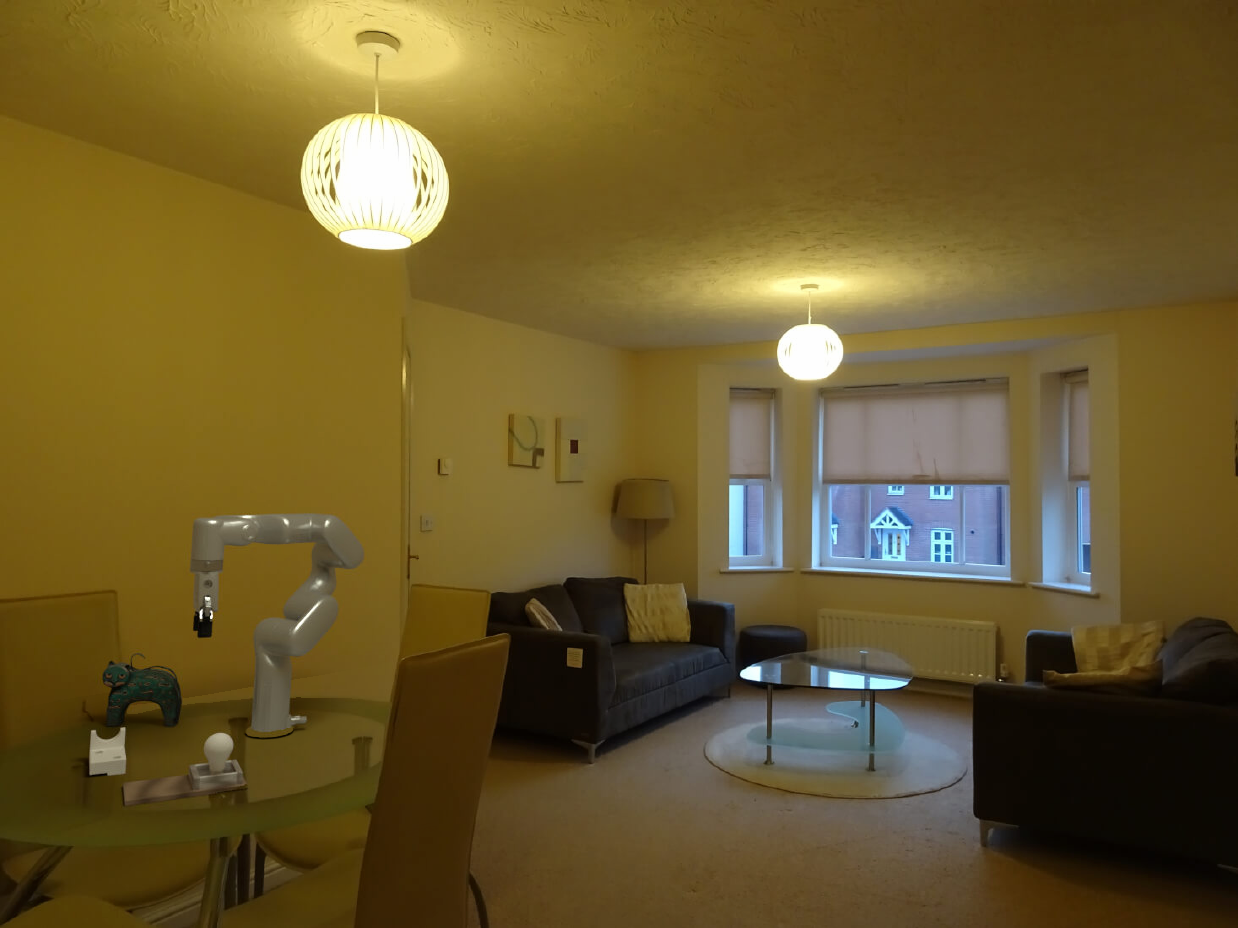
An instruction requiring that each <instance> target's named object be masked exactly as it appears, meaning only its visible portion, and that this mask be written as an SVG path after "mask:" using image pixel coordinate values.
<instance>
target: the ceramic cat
mask: <svg viewBox="0 0 1238 928" xmlns="http://www.w3.org/2000/svg"><path fill="white" fill-rule="evenodd" d="M137 655H138V656H140V657H142V658H143V659H144V660H145V659H146V657H145V656H144V654H143V653H139V652H138V653H134V654H132V655H131V658H130V663H127V662H119V663H115V661H113V660H110V661H108V664H107V667H106V668H105V669H104V670H103V672H102V681H103V685H105V686H106V687H108V688H110V692H109V694H108V698H107V699H108V700H107V707H106V710H105V711H106V724H105V727H106V728H108V727H109V728H117V727H121V726H122V725H123V724H125V715H126V713H127V710H128V708H129V706H130V705H132V704H134V703H138V702H151V703H154V704H157V705H158V706H159V708H160V710H161V713H162V717H163V726H164V727H165V728H174V727H176V726H177V725H178V724H179V720H180V715H181V711H182V705H183V699H182V692H181V691H182V690H181V687H180V683H179V682H178V677H177V674H176V673H175V672H174V670H173V669H172V668H169V667H167V666H163V665H154V666H149V667H146V668H143V669H142V668H141V669H140V668H139V669H138V668H136V667H134V666H133V662H132V660H133V657H134V656H137ZM159 668H161V669H159ZM164 669H165V670H164ZM167 670H168V671H170V672H171V673H170V672H168V671H167Z"/></svg>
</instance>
